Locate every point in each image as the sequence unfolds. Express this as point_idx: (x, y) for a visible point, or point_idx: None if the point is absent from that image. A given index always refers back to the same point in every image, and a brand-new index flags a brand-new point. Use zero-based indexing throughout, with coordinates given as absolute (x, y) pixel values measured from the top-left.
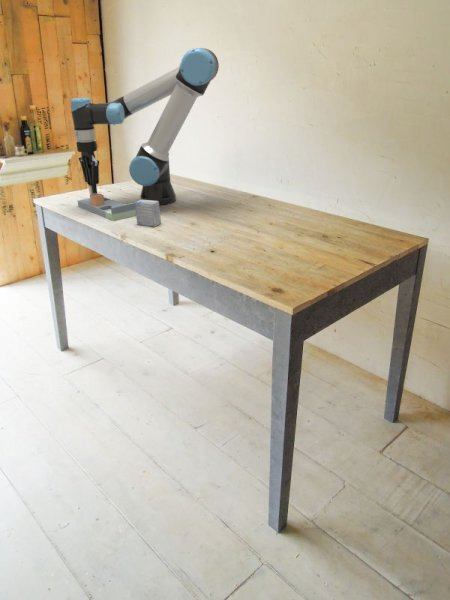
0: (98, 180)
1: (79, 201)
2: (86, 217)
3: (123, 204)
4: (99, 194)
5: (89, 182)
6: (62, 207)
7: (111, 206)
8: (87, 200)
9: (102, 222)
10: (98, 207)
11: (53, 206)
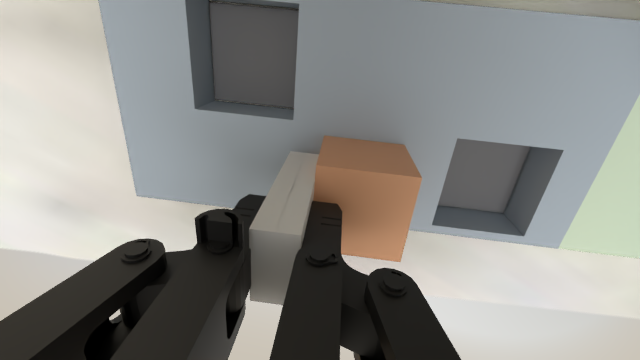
0: (432, 322)
1: (167, 199)
2: (412, 272)
3: (567, 30)
4: (368, 189)
5: (238, 307)
6: (121, 238)
7: (499, 142)
8: (179, 151)
9: (576, 280)
10: (426, 215)
11: (71, 252)
